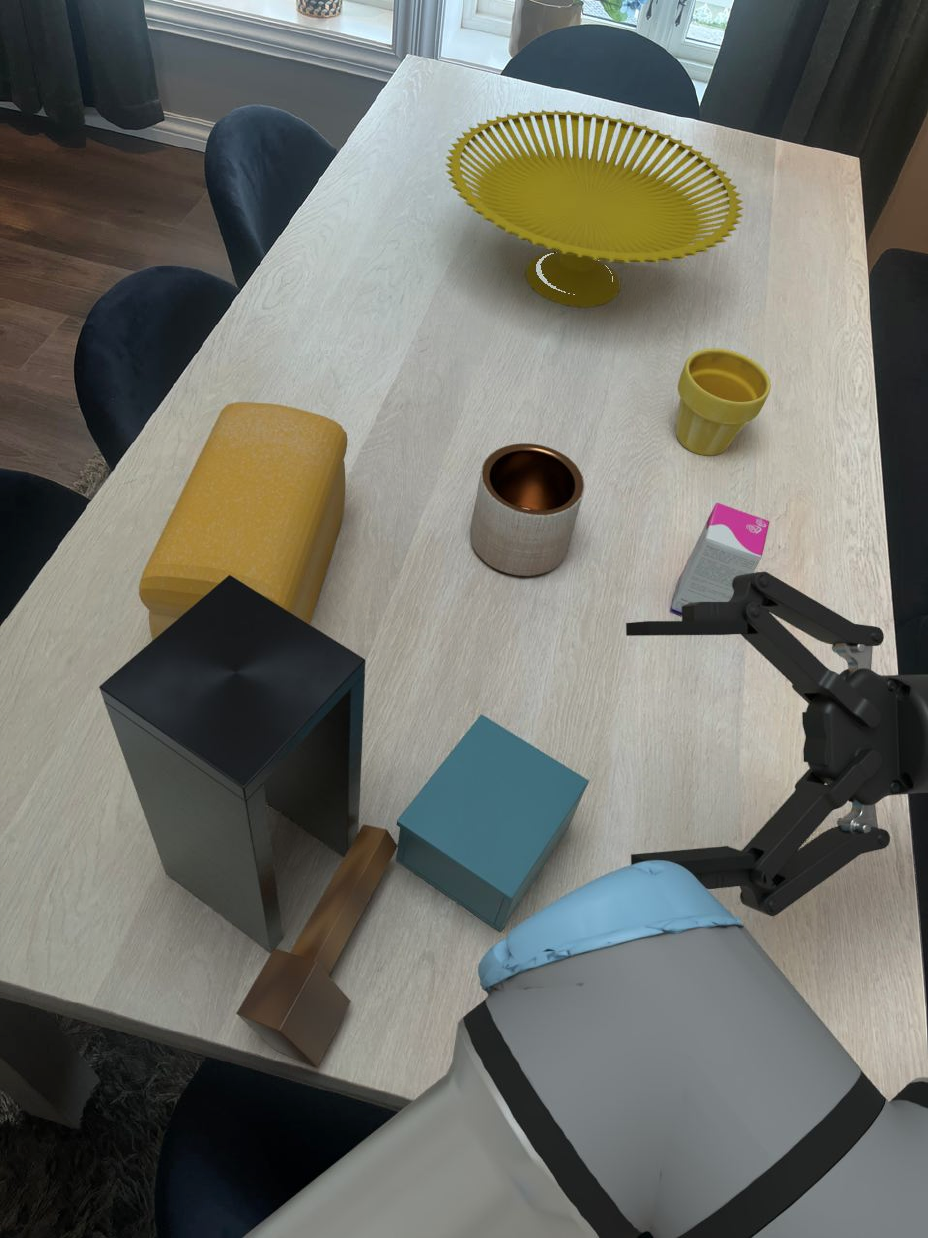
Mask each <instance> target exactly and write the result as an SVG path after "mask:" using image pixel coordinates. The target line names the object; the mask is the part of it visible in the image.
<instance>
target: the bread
mask: <svg viewBox="0 0 928 1238" xmlns="http://www.w3.org/2000/svg"><path fill="white" fill-rule="evenodd" d="M347 434H348V433H347V432H346V431H345V429H344V428H343V426H342V425H341V424H340V423H338V422H337V421H335V420H333V419H331V418H329V417H327V416H323V415H321V414H317V413H314V412H311V411H306V410H303V409H299V408H296V407H292V406H287V405H284V404H277V403H265V402H253V401H251V402H250V401H235V402H232V403H228V404H226V405H225V406H224V407H223V408H222V410H221V411H220V412H219V415H218V417H217V419H216V420H215V422H214V425H213V428H212V429H211V431H210V433H209V435H208V436H207V439H206V441H205V443H204V445H203V448H202V449H201V452H200V454H199V456H198V458H197V459H196V461H195V464H194V466H193V468H192V470H191V471H190V474H189V476H188V478H187V480H186V483H184V484H185V485H184V486H183V488H182V490H181V493H180V495H179V498H178V499H177V501H176V503H175V505H174V507H173V509H172V512H171V513H170V516H169V517H168V519H167V521H166V524H165V526H164V528H163V530H162V532H161V534H160V536H159V538H158V540H157V542H156V544H155V546H154V549H153V551H152V552H151V555H150V556H149V559H148V560H147V563H146V565H145V567H144V570H143V571H142V574H141V578H140V582H139V585H138V596H139V598H140V600H141V601H140V602H141V603H142V604H143V605H144V607H145V608H146V609H147V610H148V624H149V630H150V636H151V641H153V640H154V639H155V638H156V637H157V636H159V635H160V634H161V633H162V632H163V631H164V630H166V629H167V628H168V627H169V626H170V625H171V624H173V623H174V622H175V621H176V620H177V619H178V618H180V617H181V616H182V615H183V614H184V613H185V612H187V611H188V610H189V609H190V608H191V607H192V606H194V605H195V604H196V603H197V602H198V601H199V600H201V599H202V598H203V597H204V596H205V595H206V594H208V593H209V592H210V591H211V590H212V589H213V588H215V587H216V586H217V585H218V584H219V583H220V582H222V581H223V580H224V579H225V578H226V577H227V576H229V575H231V576H232V577H234V578H236V579H237V580H239V581H240V582H242V583H244V584H245V585H247V586H248V587H250V588H252V589H253V590H255V591H256V592H258V593H260V594H261V595H263V596H264V597H266V598H268V599H269V600H271V601H272V602H274V603H276V604H277V605H279V606H280V607H282V608H284V609H285V610H287V611H288V612H290V613H292V614H293V615H295V616H296V617H298V618H300V619H301V620H303V621H304V622H306V623H308V624H309V625H311V621H312V619H313V615H314V612H315V609H316V606H317V603H318V599H319V597H320V593H321V590H322V587H323V584H324V581H325V578H326V575H327V573H328V572H327V571H328V569H329V568H328V567H329V565H330V562H331V559H332V555H333V552H334V550H335V546H336V543H337V540H338V537H339V534H340V530H341V526H342V521H343V517H344V511H345V504H346V502H345V501H346V485H347V484H346V465H345V457H346V454H347V449H348V435H347Z"/></svg>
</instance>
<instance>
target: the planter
mask: <svg viewBox="0 0 928 1238" xmlns="http://www.w3.org/2000/svg"><path fill="white" fill-rule="evenodd" d="M584 494H585V479H584V476H583V474H582V471H581V470H580V468H579V467H578V465H577V464H576V463H575V462H574V461H573V460H572V459H570V457H568V456H567V455H565V454H564V453H562V452H561V451H558V450H557V449H554V448H552V447H550V446H549V447H548V446H546V445H541V444H536V443H530V442H529V443H526V442H523V443H522V442H521V443H512V444H507V445H504V446H502V447H499V448H498V449H496V450H494V451H493V452H491V453H490V454H489V455H488V456H487V457H486V458H485V460H484V461H483V463H482V466H481V469H480V474H479V479H478V485H477V490H476V495H475V502H474V505H473V506H474V507H473V513H472V517H471V522H470V527H469V528H470V530H469V532H470V533H469V535H470V542H471V545H472V547H473V550H474V551H475V553H476V554H477V556H478V557H479V558H480V559H481V560H482V561H483V562H485V564H487V565H489V566H490V567H491V568H494V569H495V570H497V571H499V572H501V573H506V574H508V575H513V576H519V577H531V576H539V575H542V574H545V573H548V572H550V571H553V569H555V568H557V567H558V566H559V565H560V564H561V563H562V562H563V560H564V559H565V557H566V555H567V553H568V552H569V548H570V545H571V541H572V537H573V533H574V529H575V525H576V522H577V518H578V513H579V511H580V507H581V503H582V500H583V496H584Z"/></svg>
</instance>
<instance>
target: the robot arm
mask: <svg viewBox="0 0 928 1238" xmlns="http://www.w3.org/2000/svg"><path fill="white" fill-rule="evenodd" d="M732 588H733V590H734V593H733V596H732V598H731V599H730V600H729V601H728V602H695V603H688V604H686V605H684V606H682V616H681V620H646V621H645V620H644V621H635V622H626V623H625V636H629V637H630V636H631V637H632V636H633V637H634V636H637V637H638V636H639V637H642V636H644V637H645V636H646V637H647V636H649V637H650V636H727V635H728V636H729V635H741V636H742V637H743V638H744V640H746V641H747V642H748V643H749V644H750V645H751V646H752V647H753V648H754V649H755V650H756V651H757V652H758V653H760V655H761V656H763V657H764V658H765V659H766V660H767V661H768V662H769V663H770V664H771V665H772V666H773V667H774V668H775V669H777V671H778V672H780V673H781V675H783V676H784V677H785V678H786V680H788V681H789V682H790V683H791V685H792V686H791V688H792V689H793V691H795V693H797V694H798V695H799V696H800V697H801V698H802V699H803V700H804V701H805V702H806V703H807V706H806V710H805V711H802V712H801V716H802V717H801V719H802V727H803V732H804V735H805V738H804V744H803V748H802V751H803V753H802V754H803V756H802V757H803V762H804V763H807V765H808V769H807V771H805V773H803V775H802V776H801V777H800V778H799V779H798V781H797V782H796V783H795V784H794V791H793V793H792V794H791V795H790V796H789V797H788V798H787V800H785V802H783V804H782V805H781V806H780V807H779V808H778V809H777V810H776V812H774V814H773V815H772V816H771V817H770V818H769V819H768V821H767V822H765V824H764V825H763V826H762V827H761V828H760V829H759V830H758V831H757V832H756V834H755V835H754V836H753V837H752V838H751V839H750V841H748V843H747V844H746V845H745V846H744V847H743V848H742V849H737V848H734V847H730V846H728V845H723V846H712V847H701V848H690V849H679V850H666V851H655V852H643V853H631V854H630V865H626V866H623V867H621V868H618V869H615V870H613V871H611V872H608V873H606V874H604V875H602V876H599V877H597V878H595V879H593V880H591V881H589V882H587V883H585V884H583V885H581V886H579V887H577V888H576V889H573V890H572V891H570V892H568V893H566V894H564V895H563V896H561V897H560V898H558V899H556V900H555V901H553V902H552V903H550V904H548V905H546V906H545V907H543V908H542V909H540V910H539V911H537V912H535V913H534V914H532V915H530V916H529V917H528V918H526V919H525V920H523V921H521V923H519V924H518V925H516V926H515V927H514V928H512V929H511V930H510V931H509V932H508V933H507V936H506V937H505V938H503V939H501V940H500V941H499V942H497V943H495V944H494V945H493V946H491V948H489V949H488V951H486V952H485V954H484V955H483V956H482V958H481V960H480V961H479V963H478V966H477V968H478V969H477V975H478V978H479V985H480V987H481V990H483V991H485V992H486V993H487V997H485V999H484V1000H483V1001H481V1002H480V1003H479V1004H478V1005H476V1006H475V1007H474V1008H472V1009H471V1010H470V1011H469V1012H467V1013H466V1014H465V1015H464V1016H462V1017H460V1019H459V1020H458V1022H457V1025H456V1026H457V1027H456V1032H455V1040H454V1046H453V1051H452V1052H453V1053H452V1058H451V1063H450V1065H449V1068H448V1070H447V1071H446V1073H445V1074H444V1075H443V1076H442V1077H441V1078H439V1079H438V1080H437V1081H436V1082H435V1083H433V1084H432V1085H431V1086H429V1087H428V1088H427V1089H426V1090H425V1091H423V1092H422V1093H421V1094H420V1095H418V1096H417V1097H416V1098H415V1099H413V1100H412V1101H411V1102H410V1103H408V1104H407V1105H406V1106H404V1107H403V1108H402V1109H401V1110H400V1111H398V1112H397V1113H396V1114H395V1115H393V1116H392V1117H391V1118H389V1119H388V1120H387V1121H386V1122H384V1124H382V1125H380V1126H379V1127H378V1128H377V1129H376V1130H375V1131H373V1132H372V1133H371V1134H370V1135H368V1136H367V1137H366V1138H364V1139H363V1140H362V1141H361V1142H359V1143H358V1144H357V1145H355V1146H354V1147H353V1148H352V1149H351V1150H349V1152H347V1153H346V1154H344V1156H342V1157H341V1158H339V1160H337V1161H336V1162H335V1163H334V1164H332V1165H331V1166H330V1167H328V1168H327V1169H326V1170H325V1171H323V1172H322V1173H321V1174H320V1175H318V1176H317V1177H316V1178H314V1179H313V1180H312V1181H311V1182H310V1183H308V1184H307V1185H305V1187H304V1188H302V1189H301V1190H300V1191H299V1192H297V1193H295V1195H293V1196H292V1197H291V1198H290V1199H288V1200H287V1201H286V1202H285V1203H284V1204H283V1205H281V1206H280V1207H278V1208H277V1209H276V1210H275V1211H273V1212H272V1213H271V1214H270V1215H269V1216H267V1217H266V1218H265V1219H264V1220H263V1221H261V1222H260V1223H259V1224H258V1225H256V1226H255V1227H254V1228H252V1229H251V1230H250V1231H249V1232H247V1233H246V1234H245V1235H244V1236H243V1237H242V1238H638V1237H639V1236H640V1235H641V1234H643V1233H645V1232H649V1233H650V1235H651V1236H652V1237H653V1238H928V1076H927V1077H926V1076H923V1077H922V1076H921V1077H917V1078H915V1079H913V1080H911V1081H910V1082H908V1083H907V1084H906V1085H905V1086H904V1087H903V1089H901V1090H900V1091H898V1093H897V1094H896V1095H895V1096H894V1097H893V1098H892V1099H890V1101H889V1100H888V1099H887V1098H886V1096H884V1095H883V1094H882V1092H881V1091H880V1090H879V1089H878V1088H877V1086H876V1085H875V1084H874V1083H873V1082H872V1081H871V1079H870V1078H869V1077H868V1076H867V1075H866V1074H865V1072H864V1071H863V1070H862V1068H861V1067H860V1065H859V1064H858V1063H857V1062H856V1061H855V1059H854V1058H853V1056H851V1054H850V1053H849V1052H848V1051H847V1049H846V1048H845V1047H844V1046H843V1045H842V1044H841V1042H840V1041H839V1040H838V1038H836V1036H835V1034H833V1033H832V1031H831V1030H830V1029H829V1028H828V1026H827V1025H826V1024H825V1022H824V1021H823V1020H822V1019H821V1018H820V1017H819V1016H818V1014H817V1013H816V1011H815V1010H814V1009H813V1008H812V1007H811V1005H810V1004H809V1003H808V1001H806V999H805V998H804V997H803V996H802V995H801V993H800V992H799V991H798V989H797V988H796V987H795V986H794V985H793V983H792V982H791V981H790V980H789V979H788V977H787V976H786V975H785V974H784V973H783V971H782V970H781V969H780V968H779V966H778V965H777V964H776V963H775V962H774V960H773V959H772V957H770V955H769V954H768V953H767V952H766V950H764V948H763V947H762V946H761V944H760V943H759V942H758V941H757V940H756V939H755V937H754V936H753V935H752V933H751V932H750V931H749V930H748V928H746V925H744V924H743V922H742V920H741V919H740V918H739V917H738V916H734V914H733V913H731V911H729V910H728V908H727V907H725V906H724V905H723V903H721V902H720V900H718V898H716V896H715V895H713V893H711V892H710V891H709V890H717V889H723V888H724V889H726V888H736V887H739V889H740V894H739V899H740V902H741V904H742V905H743V906H745V907H748V908H750V909H752V910H755V911H757V912H759V913H762V914H764V915H767V916H769V917H775V916H777V915H779V914H780V913H781V912H783V911H785V910H786V909H787V908H788V907H790V906H791V905H793V904H794V903H795V902H797V901H798V900H799V899H801V898H802V897H804V896H805V895H806V894H808V893H810V892H811V891H812V890H813V889H815V888H816V887H817V886H819V885H821V884H822V883H823V882H825V881H826V880H827V879H829V878H830V877H831V876H833V875H834V874H835V873H837V872H838V871H840V870H841V869H843V868H844V867H845V866H846V865H848V864H849V863H851V862H852V861H853V860H855V859H856V858H858V857H859V856H860V855H863V854H866V853H872V852H875V851H879V850H884V849H886V848H888V846H889V844H890V842H891V836H890V833H889V832H888V830H886V829H885V828H880V827H879V823H878V816H877V807H876V804H877V803H879V802H881V800H883V799H885V798H886V797H888V796H897V795H898V796H900V795H912V794H913V795H914V794H925V793H928V674H889V675H888V674H887V675H882V674H879V673H876V671H874V670H872V664H873V663H872V661H873V648H874V647H877V646H878V647H879V646H881V645H882V643H883V642H884V639H885V633H884V631H883V629H881V628H880V627H879V626H873V625H867V624H860V623H854V622H852V621H851V620H849V619H847V618H845V617H844V616H842V615H840V614H839V613H837V612H835V611H834V610H832V609H830V608H828V607H827V606H826V605H824V604H822V603H820V602H819V601H817V600H815V599H813V598H812V597H811V596H808V595H807V594H805V593H803V592H802V591H800V590H798V589H796V587H793V586H791V585H790V584H788V583H786V582H784V581H783V580H781V579H779V578H777V577H776V576H774V575H772V573H771V574H770V572H767V571H757V572H753V573H750V574H744V575H738V576H736V577H735V578H734V579H733V581H732ZM777 618H779V619H781V620H783V621H784V622H785V623H787V624H789V625H791V626H792V627H794V628H796V629H798V630H799V631H801V632H803V633H805V634H807V635H808V636H810V637H812V638H813V639H815V640H817V641H819V642H822V643H824V644H827V645H832V646H831V651H832V652H833V653H835V654H837V655H838V656H839V657H840V658H842V659H844V660H845V661H846V663H847V667H848V668H846V669H844V670H843V671H841V672H840V673H838V672H835V671H833V670H831V669H829V668H828V667H827V666H826V665H824V663H823V662H822V661H821V660H820V659H818V658H817V657H816V656H815V655H814V653H812V652H811V651H810V650H809V648H807V647H806V646H805V645H804V644H803V643H802V642H801V641H800V640H799V639H798V638H797V637H796V636H795V635H793V633H792V632H790V630H789V629H787V627H785V626H784V624H782V622H780V621H779V620H778V619H777ZM847 802H848V803H849V802H850V803H851V810H850V811H849V813H847V814H846V815H844V816H843V817H839V818H838V819H837V820H836V825H837V826H834V827H831V828H829V829H827V830H825V831H823V832H822V833H820V834H819V835H817V836H816V837H814V838H813V839H812V840H810V841H809V842H807V840H808V839H809V838H810V837H811V835H813V833H815V831H816V830H817V829H818V828H819V827H820V825H821V824H822V823H823V822H824V821H825V820H826V819H827V818H828V816H829V815H830V814H831V813H832V812H833V811H834V810H837V809H840V808H842V807H843V806H845V805H846V804H847ZM806 842H807V843H806ZM805 843H806V844H805ZM804 844H805V845H804Z"/></svg>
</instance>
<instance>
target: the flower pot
mask: <svg viewBox="0 0 928 1238" xmlns="http://www.w3.org/2000/svg"><path fill="white" fill-rule="evenodd" d="M680 373H681V374H680V376H679V380H678V384H677V392H678V395H679V405H678V413H677V419H676V426H675V427H676V428H675V435H676V439H677V440H678V442H679V444H681V445H682V446H683V447H684V448H685V449H686V450H689V452H692V453H694V454H697V455H701V456H716V455H719V454H722V453H723V452H725V451H726V450H727V448H728V447H729V446H730V445H731V444H732V442H733V440H734V439H735V438H736V437H737V435H738V434H739V433H740V431H742V430H743V428H744V427H745V425H746V424H747V423H749V422H751V421H753V420H754V419H755V418H757V416H758V415H759V414H760V412H761V410H762V409H763V407H764V405H765V404H766V401H767V399H768V397H769V395H770V392H771V386H772V385H771V380H770V377H769V375H768V373H767V372H766V370H765V369H764V368H763V367H762V366H761V365H760V364H759V363H757V362H756V361H755V360H754V359H752V358H750V357H748V356H747V355H744V354H742V353H740V352H736V351H734V350H730V349H726V348H715V347H714V348H712V347H709V348H704V349H699V350H698V351H695V352H694V353H692V354H690V355H689V357H688V358H687V359H686V361H685V363H684V365H683V368H682V371H681V372H680Z"/></svg>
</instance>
